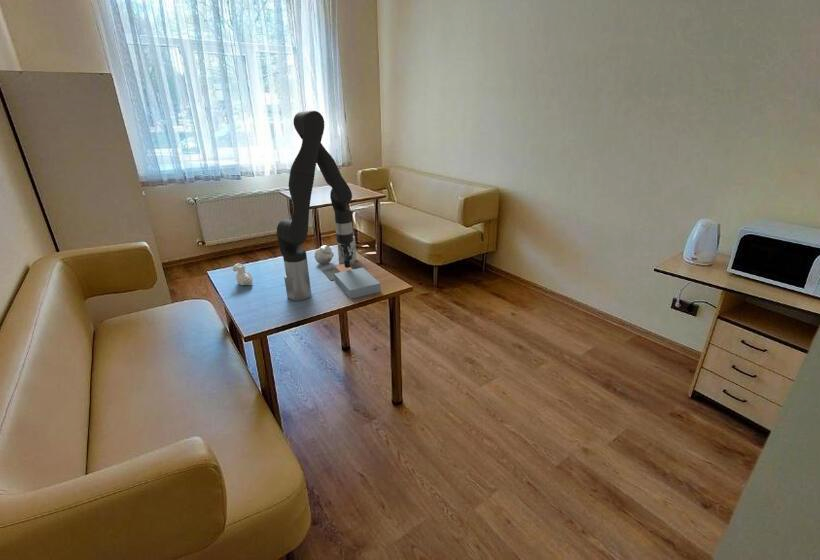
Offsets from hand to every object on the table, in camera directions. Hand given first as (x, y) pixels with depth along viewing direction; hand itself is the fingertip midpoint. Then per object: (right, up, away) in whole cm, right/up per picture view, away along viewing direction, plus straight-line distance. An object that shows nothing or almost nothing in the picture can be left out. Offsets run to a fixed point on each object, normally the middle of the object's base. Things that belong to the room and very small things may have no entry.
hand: (347, 267), depth 191 cm
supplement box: (-3, +3, +20) cm, 21 cm away
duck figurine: (-46, -8, -3) cm, 47 cm away
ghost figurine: (-14, +2, +17) cm, 22 cm away
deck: (+6, -9, -7) cm, 13 cm away
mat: (-3, -2, +7) cm, 8 cm away
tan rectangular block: (-2, -3, +5) cm, 6 cm away
